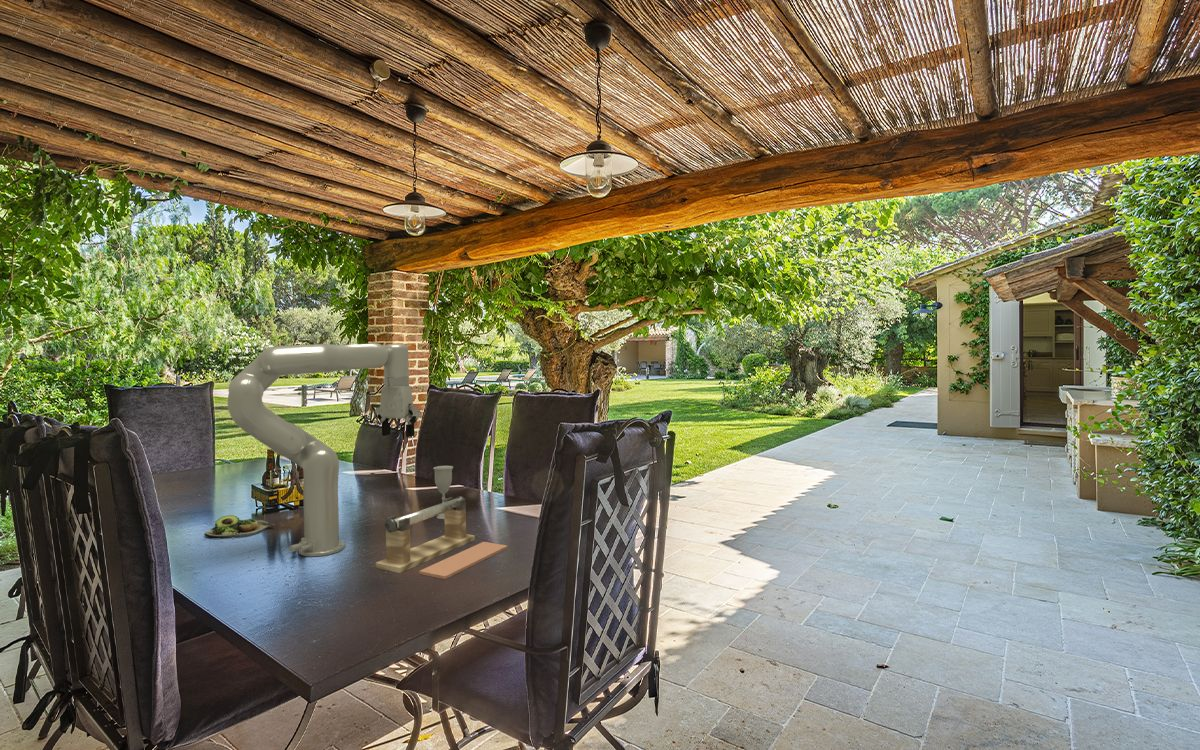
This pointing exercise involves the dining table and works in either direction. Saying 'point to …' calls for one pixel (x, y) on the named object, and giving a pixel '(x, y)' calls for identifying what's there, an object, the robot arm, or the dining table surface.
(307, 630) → the dining table surface
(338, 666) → the dining table surface
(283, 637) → the dining table surface
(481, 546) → the terracotta mat
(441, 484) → the chalice
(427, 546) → the rail stand
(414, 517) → the steel rail
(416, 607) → the dining table surface
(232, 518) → the salad plate
